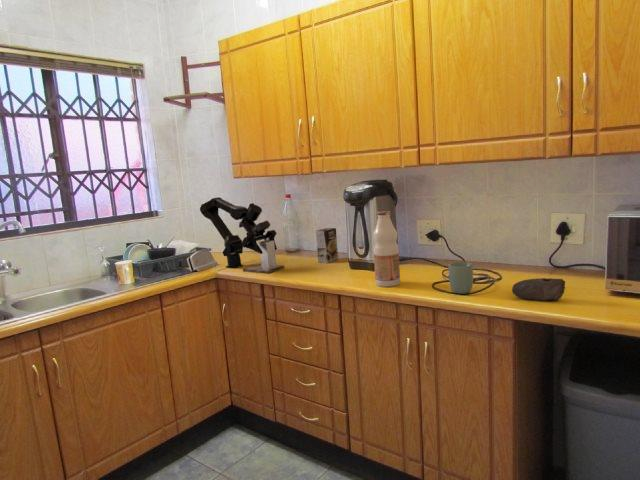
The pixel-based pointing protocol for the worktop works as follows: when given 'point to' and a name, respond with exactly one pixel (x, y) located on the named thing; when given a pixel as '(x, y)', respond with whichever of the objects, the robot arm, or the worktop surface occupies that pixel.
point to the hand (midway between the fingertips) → (269, 251)
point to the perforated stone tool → (539, 289)
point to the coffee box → (327, 245)
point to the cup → (461, 277)
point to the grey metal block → (201, 261)
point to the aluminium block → (267, 254)
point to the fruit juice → (386, 252)
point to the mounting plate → (259, 269)
